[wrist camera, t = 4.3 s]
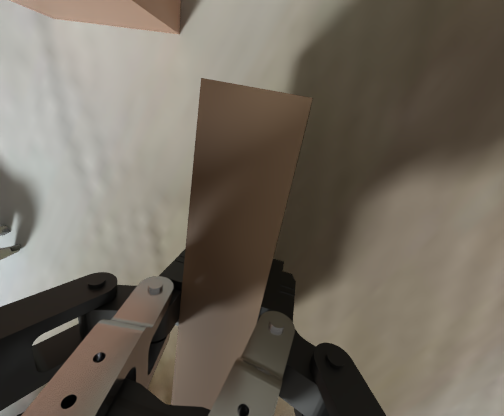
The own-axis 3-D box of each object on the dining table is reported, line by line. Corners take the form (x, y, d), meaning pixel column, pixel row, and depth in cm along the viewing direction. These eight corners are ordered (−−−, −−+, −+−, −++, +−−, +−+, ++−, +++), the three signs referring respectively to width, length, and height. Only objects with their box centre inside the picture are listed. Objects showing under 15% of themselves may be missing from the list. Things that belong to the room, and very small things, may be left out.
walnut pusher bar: (310, 109, 11) (313, 97, 6) (248, 358, 16) (225, 450, 12) (245, 97, 11) (201, 77, 6) (206, 344, 17) (169, 428, 12)
